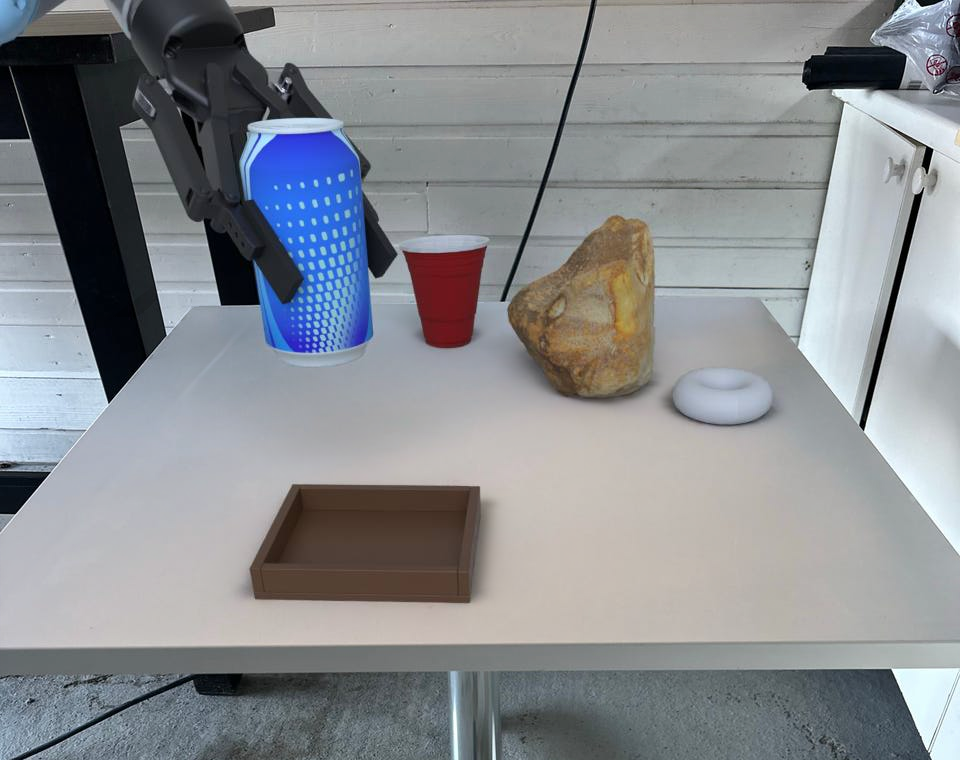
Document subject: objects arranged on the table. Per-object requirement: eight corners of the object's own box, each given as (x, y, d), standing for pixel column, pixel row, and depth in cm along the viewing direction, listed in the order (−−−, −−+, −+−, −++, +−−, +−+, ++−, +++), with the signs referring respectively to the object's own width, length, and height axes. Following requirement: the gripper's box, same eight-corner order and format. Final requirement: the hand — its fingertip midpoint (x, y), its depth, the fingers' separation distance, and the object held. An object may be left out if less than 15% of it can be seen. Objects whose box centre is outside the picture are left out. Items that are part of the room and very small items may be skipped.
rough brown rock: (531, 341, 116) (521, 214, 108) (664, 337, 112) (665, 204, 103) (488, 415, 98) (472, 270, 90) (645, 414, 94) (644, 261, 85)
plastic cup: (475, 323, 120) (473, 224, 113) (503, 348, 112) (502, 243, 105) (394, 333, 118) (387, 232, 111) (417, 358, 109) (410, 251, 102)
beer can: (358, 331, 77) (339, 114, 68) (387, 362, 71) (370, 126, 62) (259, 344, 75) (224, 120, 66) (279, 377, 69) (244, 134, 59)
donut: (730, 389, 100) (651, 402, 96) (735, 357, 98) (655, 369, 95) (790, 421, 92) (706, 436, 89) (797, 387, 90) (712, 401, 87)
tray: (254, 599, 67) (248, 568, 65) (296, 511, 78) (292, 483, 76) (469, 603, 66) (468, 571, 64) (480, 514, 77) (480, 485, 75)
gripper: (271, 49, 77) (419, 281, 77) (27, 65, 64) (205, 343, 64) (305, -32, 71) (464, 220, 71) (42, -32, 58) (239, 275, 58)
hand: (341, 278), depth 68 cm, fingers closed on beer can, 8 cm apart
